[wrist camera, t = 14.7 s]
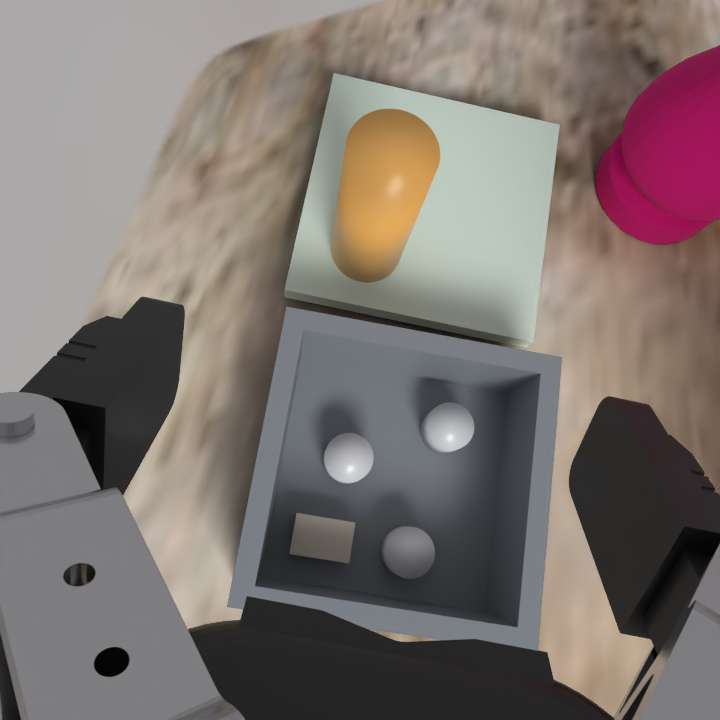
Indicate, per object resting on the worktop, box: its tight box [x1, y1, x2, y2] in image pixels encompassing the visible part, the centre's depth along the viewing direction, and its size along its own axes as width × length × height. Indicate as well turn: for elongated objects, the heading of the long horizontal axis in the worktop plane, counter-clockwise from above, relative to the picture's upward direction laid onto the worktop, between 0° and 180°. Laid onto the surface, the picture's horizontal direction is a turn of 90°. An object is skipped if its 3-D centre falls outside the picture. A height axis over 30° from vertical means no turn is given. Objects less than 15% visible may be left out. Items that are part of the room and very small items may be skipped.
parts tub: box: [227, 307, 562, 651], centre depth 27 cm, size 11×11×5 cm
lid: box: [284, 73, 560, 348], centre depth 28 cm, size 11×11×10 cm
